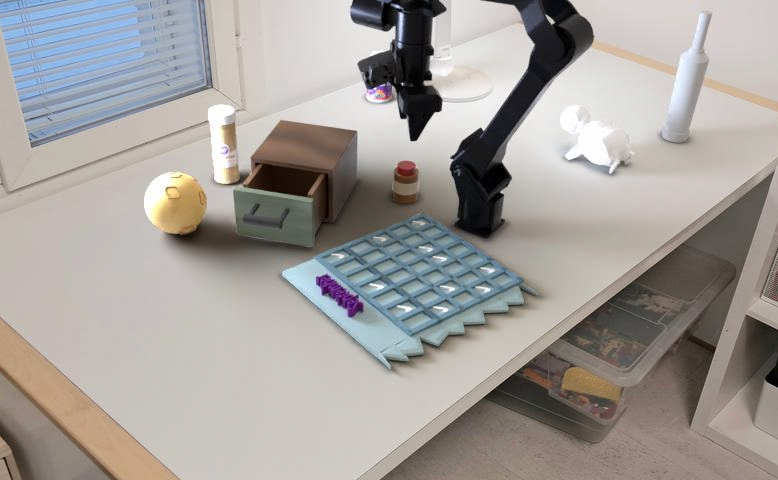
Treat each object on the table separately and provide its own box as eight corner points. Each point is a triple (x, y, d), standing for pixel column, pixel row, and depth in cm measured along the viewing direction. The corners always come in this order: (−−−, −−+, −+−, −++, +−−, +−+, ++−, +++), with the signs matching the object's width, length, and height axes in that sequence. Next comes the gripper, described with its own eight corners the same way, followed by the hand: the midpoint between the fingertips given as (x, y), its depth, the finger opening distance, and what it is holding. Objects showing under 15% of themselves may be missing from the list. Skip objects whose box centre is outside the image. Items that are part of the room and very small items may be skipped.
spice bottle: (422, 196, 154) (424, 163, 150) (408, 206, 151) (410, 173, 147) (401, 188, 156) (402, 156, 152) (387, 198, 153) (388, 166, 149)
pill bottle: (362, 100, 185) (363, 56, 179) (372, 90, 189) (373, 47, 183) (386, 105, 183) (387, 60, 177) (395, 95, 187) (397, 51, 181)
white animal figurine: (622, 172, 168) (567, 122, 173) (645, 141, 162) (587, 89, 166) (597, 188, 163) (541, 135, 168) (620, 156, 157) (561, 102, 161)
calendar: (538, 297, 131) (541, 285, 130) (391, 371, 117) (392, 357, 116) (422, 219, 148) (423, 207, 146) (282, 276, 134) (281, 263, 133)
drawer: (302, 264, 135) (301, 218, 130) (224, 250, 138) (220, 205, 132) (337, 205, 149) (337, 161, 144) (266, 193, 152) (263, 150, 147)
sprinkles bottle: (217, 186, 155) (210, 116, 147) (212, 174, 158) (206, 105, 150) (242, 183, 156) (237, 113, 148) (237, 171, 160) (232, 102, 151)
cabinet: (333, 223, 146) (332, 170, 140) (253, 210, 149) (250, 157, 143) (356, 181, 157) (357, 130, 151) (282, 170, 160) (280, 119, 154)
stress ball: (155, 250, 139) (146, 195, 133) (143, 219, 146) (135, 166, 140) (216, 238, 142) (211, 184, 136) (202, 208, 149) (196, 156, 143)
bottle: (691, 143, 172) (725, 17, 157) (664, 142, 172) (696, 16, 157) (683, 131, 176) (716, 7, 161) (658, 131, 176) (688, 7, 161)
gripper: (352, 19, 142) (351, 108, 152) (372, 63, 128) (370, 159, 137) (419, 16, 144) (414, 104, 153) (446, 60, 129) (439, 154, 139)
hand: (408, 129), depth 146 cm, fingers open, 8 cm apart
